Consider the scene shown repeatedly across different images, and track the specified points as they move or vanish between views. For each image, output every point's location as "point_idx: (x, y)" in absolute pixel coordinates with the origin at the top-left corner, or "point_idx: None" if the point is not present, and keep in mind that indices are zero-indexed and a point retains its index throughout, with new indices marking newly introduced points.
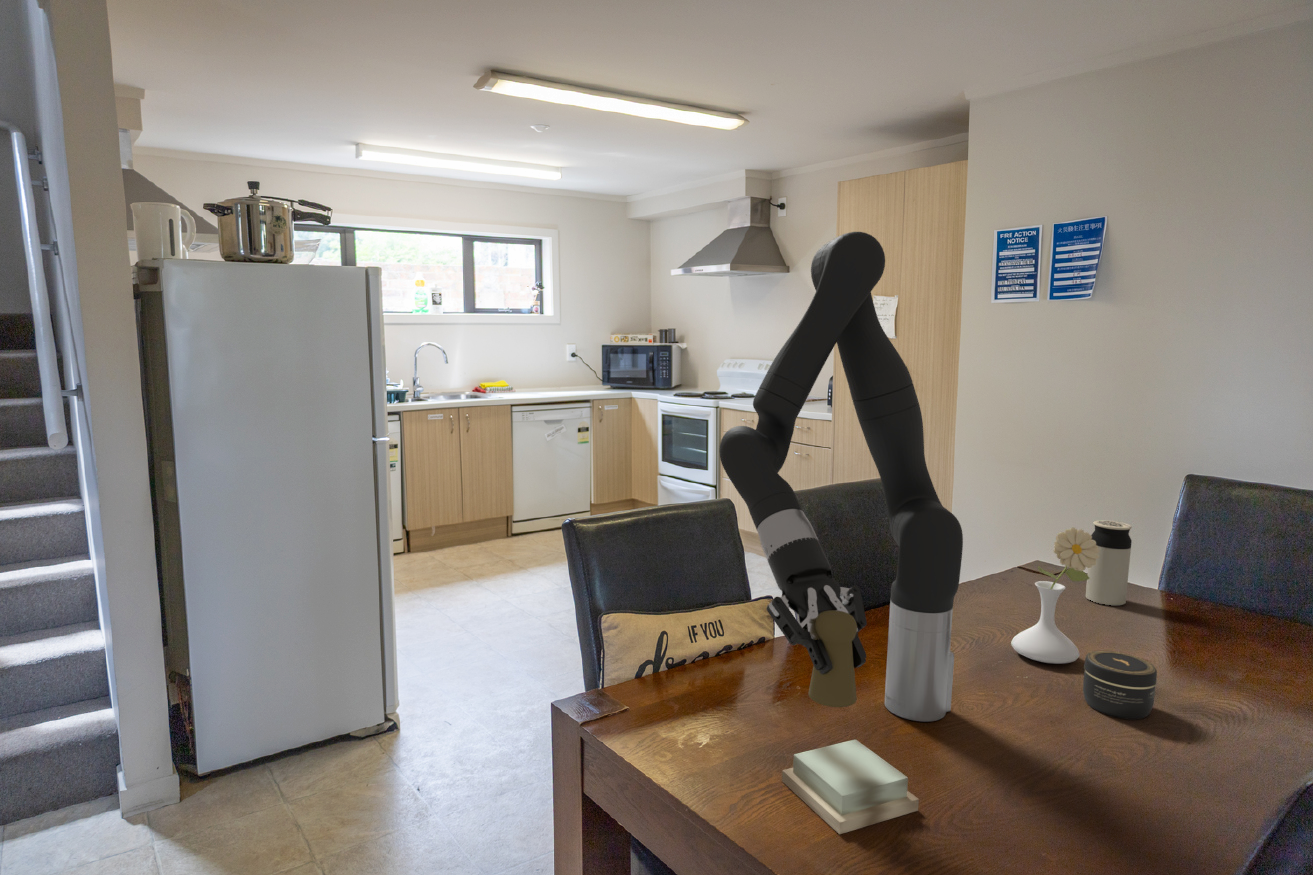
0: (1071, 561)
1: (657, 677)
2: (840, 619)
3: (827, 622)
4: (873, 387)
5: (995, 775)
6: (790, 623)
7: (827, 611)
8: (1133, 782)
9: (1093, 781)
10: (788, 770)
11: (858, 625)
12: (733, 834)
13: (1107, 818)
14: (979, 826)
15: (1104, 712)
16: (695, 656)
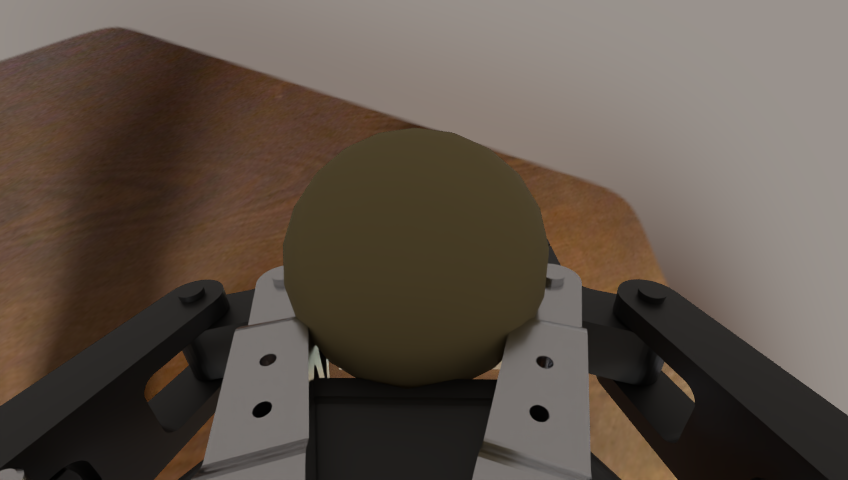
0: None
1: None
2: (441, 149)
3: (524, 189)
4: None
5: (169, 243)
6: (742, 348)
7: (434, 311)
8: (20, 159)
9: (63, 179)
10: (500, 363)
11: (228, 302)
12: (654, 268)
13: (140, 117)
14: (303, 159)
15: None
16: None
